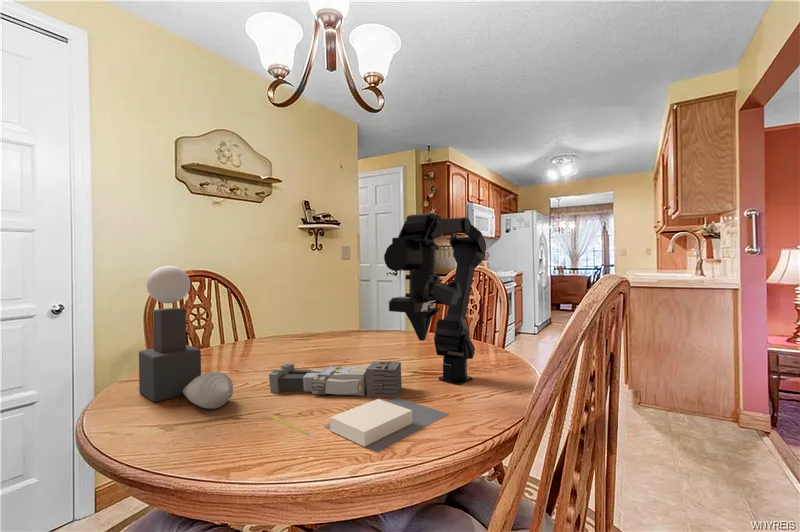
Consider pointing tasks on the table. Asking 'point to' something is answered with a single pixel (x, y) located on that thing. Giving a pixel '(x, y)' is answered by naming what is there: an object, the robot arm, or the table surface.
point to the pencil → (289, 425)
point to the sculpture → (168, 340)
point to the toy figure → (341, 379)
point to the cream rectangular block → (370, 421)
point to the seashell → (209, 390)
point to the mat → (420, 419)
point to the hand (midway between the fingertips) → (422, 340)
